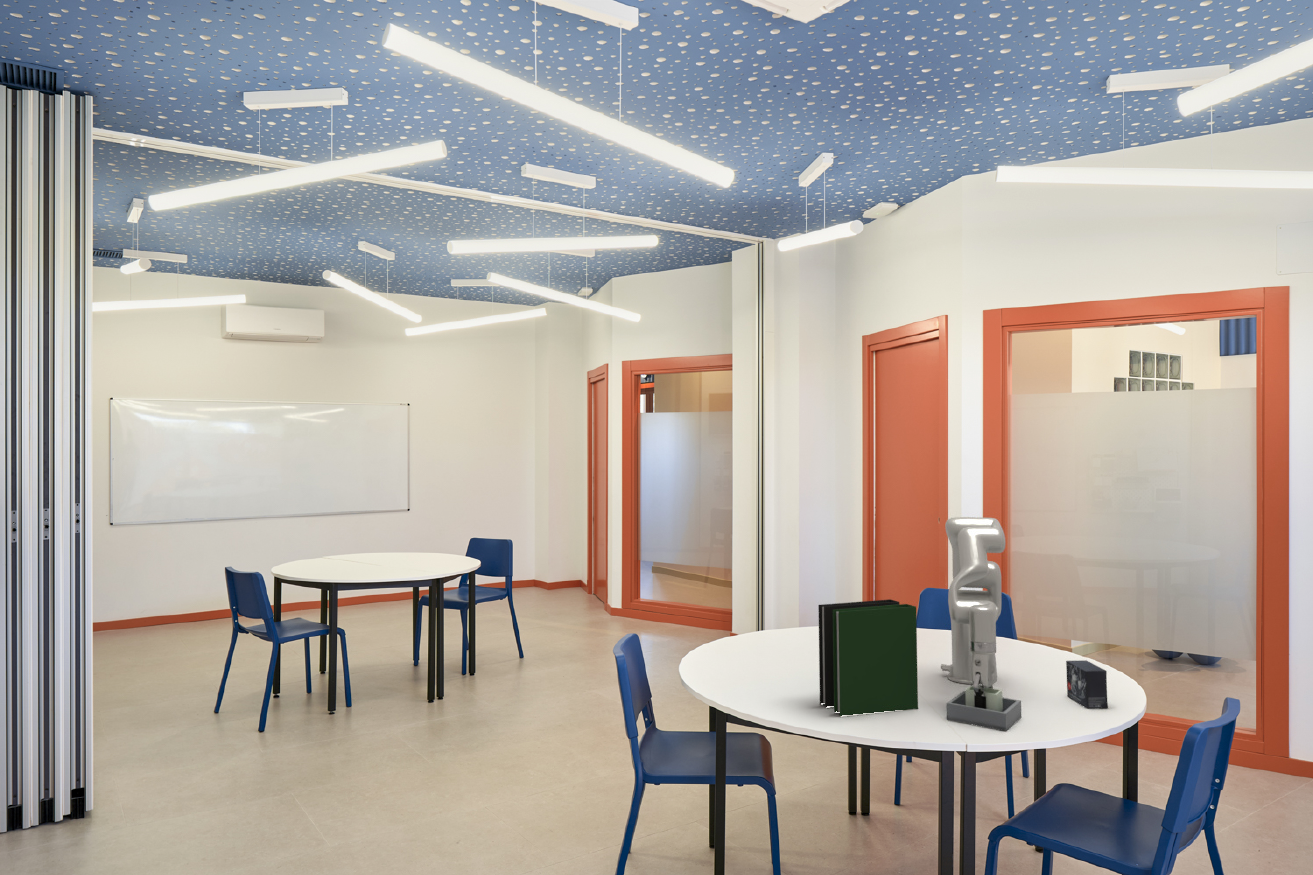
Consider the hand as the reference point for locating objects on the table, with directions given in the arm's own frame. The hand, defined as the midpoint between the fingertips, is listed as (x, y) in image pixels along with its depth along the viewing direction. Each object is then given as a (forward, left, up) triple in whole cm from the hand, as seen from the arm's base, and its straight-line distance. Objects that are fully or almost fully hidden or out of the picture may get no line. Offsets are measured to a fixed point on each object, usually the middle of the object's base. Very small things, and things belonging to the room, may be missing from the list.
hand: (984, 705), depth 242 cm
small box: (+21, +36, -4) cm, 42 cm away
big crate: (0, 0, -4) cm, 4 cm away
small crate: (0, 0, -1) cm, 1 cm away
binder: (-33, -10, -4) cm, 35 cm away
